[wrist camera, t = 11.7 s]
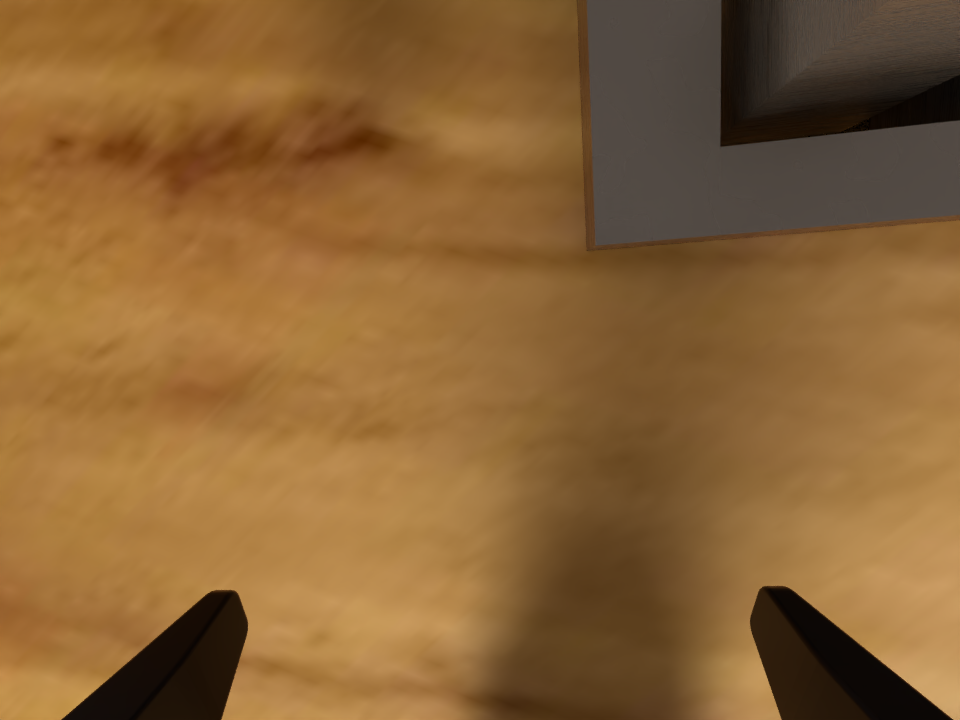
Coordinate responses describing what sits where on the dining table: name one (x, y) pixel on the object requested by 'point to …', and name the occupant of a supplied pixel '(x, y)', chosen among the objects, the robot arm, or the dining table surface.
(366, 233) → the dining table surface
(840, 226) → the grey flat block
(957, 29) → the peg
